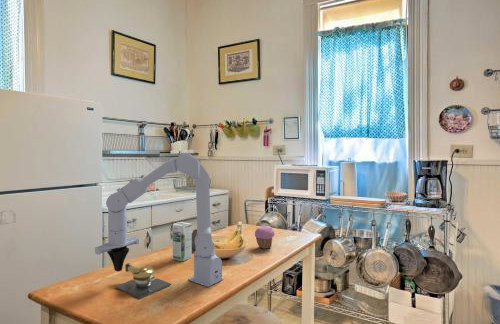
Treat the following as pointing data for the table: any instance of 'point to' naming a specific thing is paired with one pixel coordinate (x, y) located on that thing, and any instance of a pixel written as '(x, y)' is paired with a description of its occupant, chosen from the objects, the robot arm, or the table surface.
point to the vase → (194, 239)
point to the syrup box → (182, 241)
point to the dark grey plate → (143, 286)
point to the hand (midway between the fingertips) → (118, 270)
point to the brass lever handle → (140, 272)
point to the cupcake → (264, 236)
